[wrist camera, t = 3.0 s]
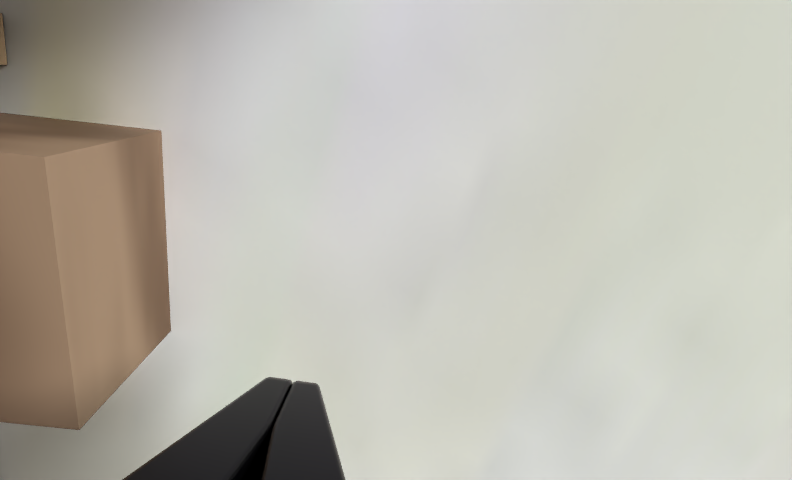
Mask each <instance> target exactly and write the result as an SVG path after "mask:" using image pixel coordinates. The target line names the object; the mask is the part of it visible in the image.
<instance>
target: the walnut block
mask: <svg viewBox="0 0 792 480" xmlns="http://www.w3.org/2000/svg"><path fill="white" fill-rule="evenodd" d="M170 331H171V325H170V304H169V283H168V262H167V241H166V220H165V199H164V178H163V157H162V136H161V131H159V130H150V129H141V128H132V127H123V126H114V125H105V124H96V123H87V122H78V121H69V120H60V119H52V118H43V117H34V116H25V115H16V114H7V113H0V422H6V423H16V424H26V425H36V426H45V427H55V428H65V429H75V430H80V429H81V428H82V426H83V425H84V424H85V423H86V422H87V421H88V420H89V419H90V418H91V417H92V416H93V415H94V413H95V412H96V411H97V410H98V409H99V408H100V407H101V406H102V405H103V404H104V403H105V402H106V400H107V399H108V398H109V397H110V396H111V395H112V394H113V393H114V392H115V391H116V390H117V389H118V387H119V386H120V385H121V384H122V383H123V382H124V381H125V380H126V379H127V378H128V377H129V376H130V374H131V373H132V372H133V371H134V370H135V369H136V368H137V367H138V366H139V365H140V364H141V363H142V361H143V360H144V359H145V358H146V357H147V356H148V355H149V354H150V353H151V352H152V351H153V350H154V348H155V347H156V346H157V345H158V344H159V343H160V342H161V341H162V340H163V339H164V338H165V337H166V335H167V334H168V333H169V332H170Z"/></svg>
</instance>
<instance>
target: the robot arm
mask: <svg viewBox="0 0 792 480" xmlns="http://www.w3.org/2000/svg"><path fill="white" fill-rule="evenodd" d="M123 480H345V477H344V473H343V470H342V466H341V462H340V459H339V455H338V452H337V448H336V445H335V441H334V437H333V434H332V430H331V427H330V423H329V420H328V416H327V412H326V409H325V405H324V402H323V398H322V394H321V391H320V387H319V386H318V384H316V383H309V382H302V381H296V382H294V383H293V384H292V381H291V380H288V379H281V378H274V377H268V378H266V379H264V380H263V381H261V382H260V383H258V384H257V385H256V386H254V387H253V388H251V389H250V390H249V391H247V392H246V393H244V394H243V395H241V396H240V397H239V398H237V399H236V400H234V401H233V402H232V403H230V404H229V405H227V406H226V407H224V408H223V409H222V410H220V411H219V412H217V413H216V414H215V415H213V416H212V417H210V418H209V419H208V420H206V421H205V422H203V423H202V424H200V425H199V426H198V427H196V428H195V429H193V430H192V431H191V432H189V433H188V434H186V435H185V436H183V437H182V438H181V439H179V440H178V441H176V442H175V443H174V444H172V445H171V446H169V447H168V448H166V449H165V450H164V451H162V452H161V453H159V454H158V455H157V456H155V457H154V458H152V459H151V460H149V461H148V462H147V463H145V464H144V465H142V466H141V467H140V468H138V469H137V470H135V471H134V472H133V473H131V474H130V475H128V476H127V477H125V478H124V479H123Z"/></svg>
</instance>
